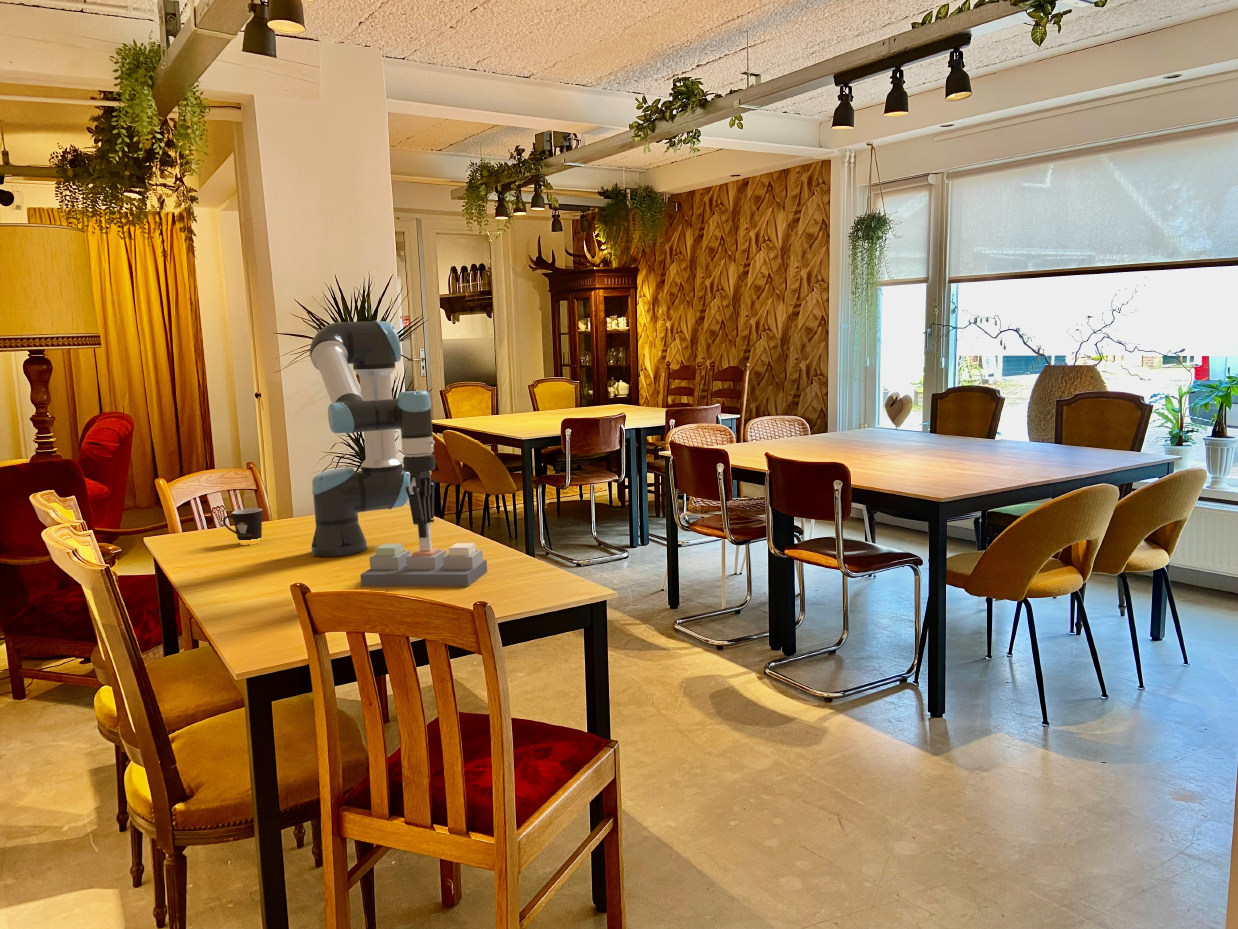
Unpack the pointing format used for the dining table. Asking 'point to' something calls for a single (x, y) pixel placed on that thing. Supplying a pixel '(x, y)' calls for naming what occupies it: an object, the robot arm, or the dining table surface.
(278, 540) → the dining table surface
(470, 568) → the key panel
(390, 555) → the sage key
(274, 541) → the dining table surface
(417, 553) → the terracotta key
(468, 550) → the cream key
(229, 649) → the dining table surface
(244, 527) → the coffee mug
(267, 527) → the dining table surface
